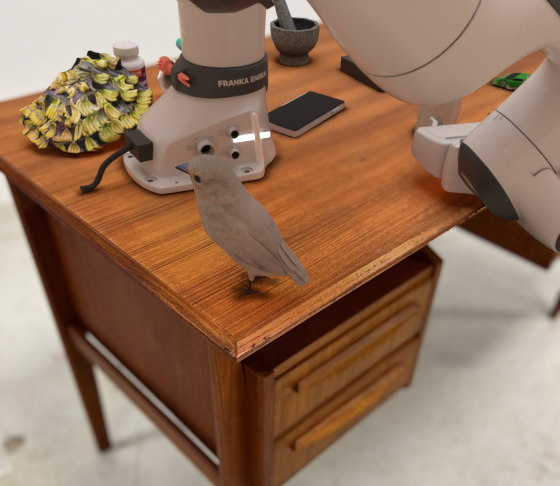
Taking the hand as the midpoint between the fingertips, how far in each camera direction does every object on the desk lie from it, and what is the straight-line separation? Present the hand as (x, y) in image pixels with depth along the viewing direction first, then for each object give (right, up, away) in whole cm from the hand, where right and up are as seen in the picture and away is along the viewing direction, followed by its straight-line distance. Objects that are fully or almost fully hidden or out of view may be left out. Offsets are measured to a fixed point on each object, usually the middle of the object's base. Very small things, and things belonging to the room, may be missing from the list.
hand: (461, 119), depth 83 cm
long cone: (-47, +24, +31) cm, 61 cm away
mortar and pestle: (-24, +24, +34) cm, 48 cm away
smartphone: (-23, +5, +13) cm, 27 cm away
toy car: (+19, +14, +24) cm, 34 cm away
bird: (-30, -25, -20) cm, 44 cm away
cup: (-2, +1, +9) cm, 9 cm away
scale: (-5, +19, +29) cm, 35 cm away
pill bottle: (-52, +8, +15) cm, 54 cm away
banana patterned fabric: (-56, +2, +6) cm, 56 cm away
